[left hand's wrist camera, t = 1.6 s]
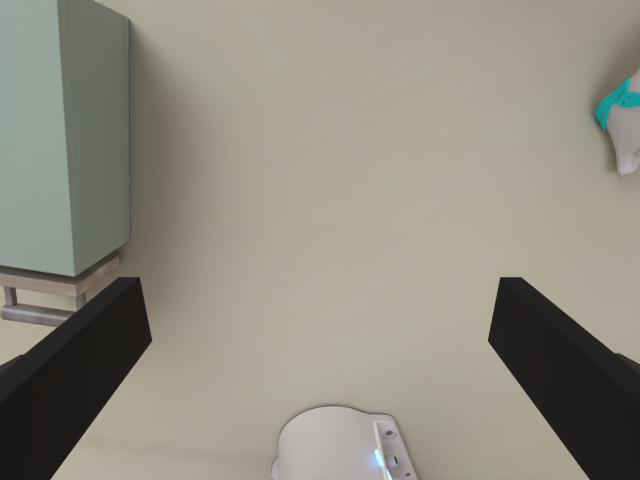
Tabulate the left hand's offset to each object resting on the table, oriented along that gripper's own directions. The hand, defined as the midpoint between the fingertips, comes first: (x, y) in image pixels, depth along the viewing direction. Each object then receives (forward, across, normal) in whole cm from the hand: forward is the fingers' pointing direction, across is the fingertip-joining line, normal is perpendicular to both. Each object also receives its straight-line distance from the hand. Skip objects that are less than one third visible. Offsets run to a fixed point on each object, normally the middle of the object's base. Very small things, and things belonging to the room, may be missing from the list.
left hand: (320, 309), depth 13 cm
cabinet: (+23, -24, +5) cm, 34 cm away
